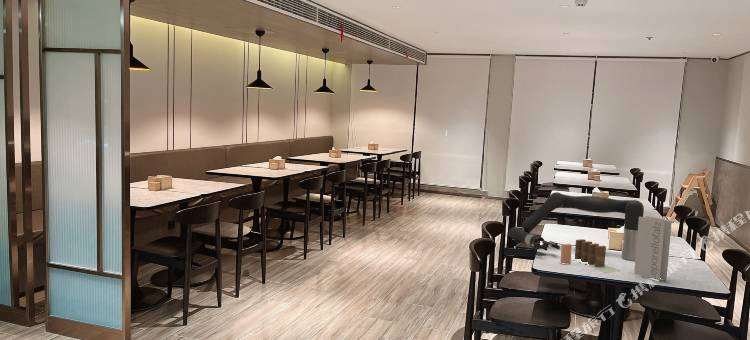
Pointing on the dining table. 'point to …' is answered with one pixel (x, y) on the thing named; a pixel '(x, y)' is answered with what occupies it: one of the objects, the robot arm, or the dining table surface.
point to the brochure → (652, 247)
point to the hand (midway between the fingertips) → (553, 248)
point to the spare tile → (566, 253)
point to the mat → (605, 269)
